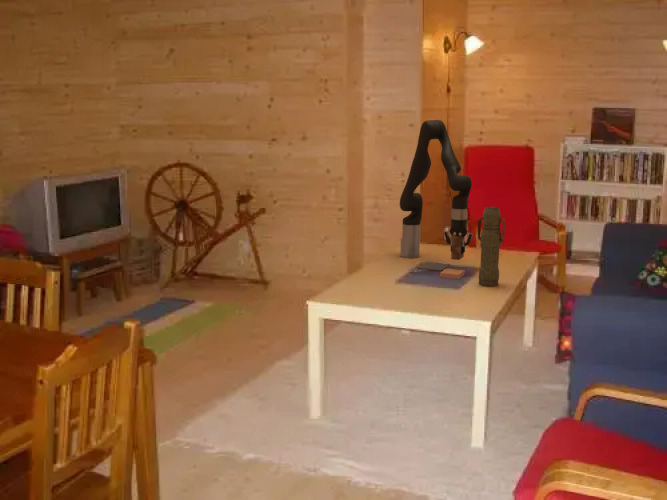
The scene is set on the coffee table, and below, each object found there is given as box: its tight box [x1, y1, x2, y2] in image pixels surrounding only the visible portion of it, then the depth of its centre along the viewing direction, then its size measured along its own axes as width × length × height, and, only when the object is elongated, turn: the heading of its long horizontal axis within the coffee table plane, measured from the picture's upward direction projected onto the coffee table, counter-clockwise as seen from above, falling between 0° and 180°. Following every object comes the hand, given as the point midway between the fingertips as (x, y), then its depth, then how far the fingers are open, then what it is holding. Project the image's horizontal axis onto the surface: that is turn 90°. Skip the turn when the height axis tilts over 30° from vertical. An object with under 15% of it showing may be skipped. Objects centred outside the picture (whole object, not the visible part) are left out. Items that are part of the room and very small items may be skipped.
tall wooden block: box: [450, 235, 465, 261], centre depth 368 cm, size 4×8×11 cm, turn 156°
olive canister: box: [477, 206, 506, 288], centre depth 345 cm, size 9×12×35 cm
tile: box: [439, 267, 465, 280], centre depth 364 cm, size 9×2×10 cm
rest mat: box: [417, 261, 450, 272], centre depth 381 cm, size 12×14×1 cm
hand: (457, 253), depth 369 cm, fingers closed on tall wooden block, 4 cm apart
